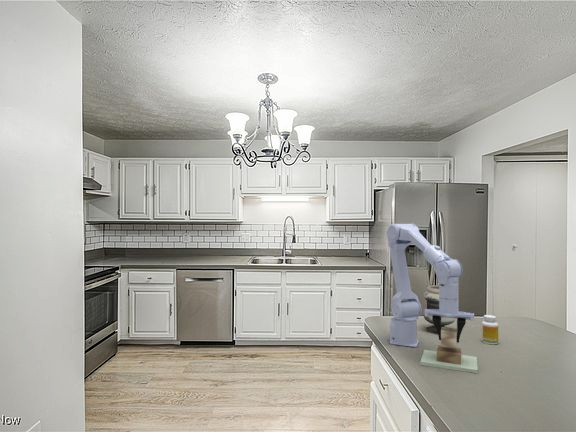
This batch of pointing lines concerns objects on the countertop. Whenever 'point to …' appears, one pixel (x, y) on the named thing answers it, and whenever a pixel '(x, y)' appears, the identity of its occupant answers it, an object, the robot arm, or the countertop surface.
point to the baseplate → (466, 363)
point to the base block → (449, 355)
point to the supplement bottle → (490, 330)
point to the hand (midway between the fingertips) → (449, 340)
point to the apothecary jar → (433, 303)
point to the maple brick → (449, 337)
